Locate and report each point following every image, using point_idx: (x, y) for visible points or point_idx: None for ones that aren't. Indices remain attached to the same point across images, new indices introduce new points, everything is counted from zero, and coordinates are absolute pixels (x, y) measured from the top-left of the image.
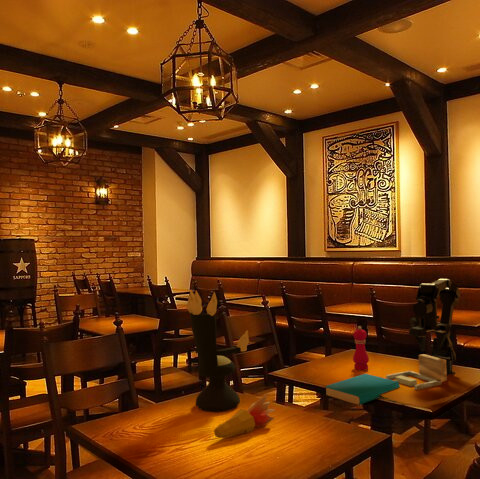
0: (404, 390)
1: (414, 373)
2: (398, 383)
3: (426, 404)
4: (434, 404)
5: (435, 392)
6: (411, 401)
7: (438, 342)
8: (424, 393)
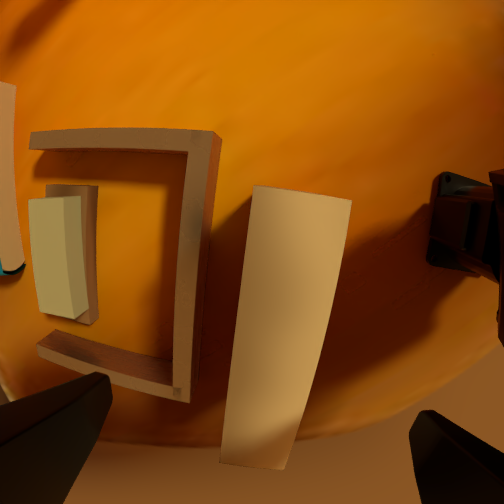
0: None
1: (182, 203)
2: (3, 273)
3: None
4: None
5: None
6: (10, 362)
7: (450, 481)
8: None
